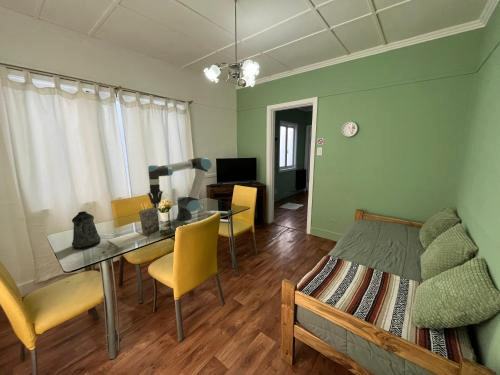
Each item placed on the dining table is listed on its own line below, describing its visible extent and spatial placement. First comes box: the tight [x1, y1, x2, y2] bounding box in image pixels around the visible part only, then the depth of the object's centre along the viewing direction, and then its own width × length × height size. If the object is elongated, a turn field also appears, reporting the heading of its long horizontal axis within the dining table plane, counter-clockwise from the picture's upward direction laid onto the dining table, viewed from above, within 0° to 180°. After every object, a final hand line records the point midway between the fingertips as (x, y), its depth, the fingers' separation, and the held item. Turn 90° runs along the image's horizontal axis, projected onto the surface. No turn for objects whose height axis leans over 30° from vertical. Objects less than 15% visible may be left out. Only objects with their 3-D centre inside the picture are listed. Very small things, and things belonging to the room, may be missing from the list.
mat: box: [107, 231, 150, 249], centre depth 162 cm, size 22×20×1 cm
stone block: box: [138, 206, 160, 236], centre depth 174 cm, size 13×7×20 cm, turn 148°
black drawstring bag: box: [71, 210, 102, 251], centre depth 149 cm, size 16×19×25 cm
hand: (156, 211), depth 178 cm, fingers closed
